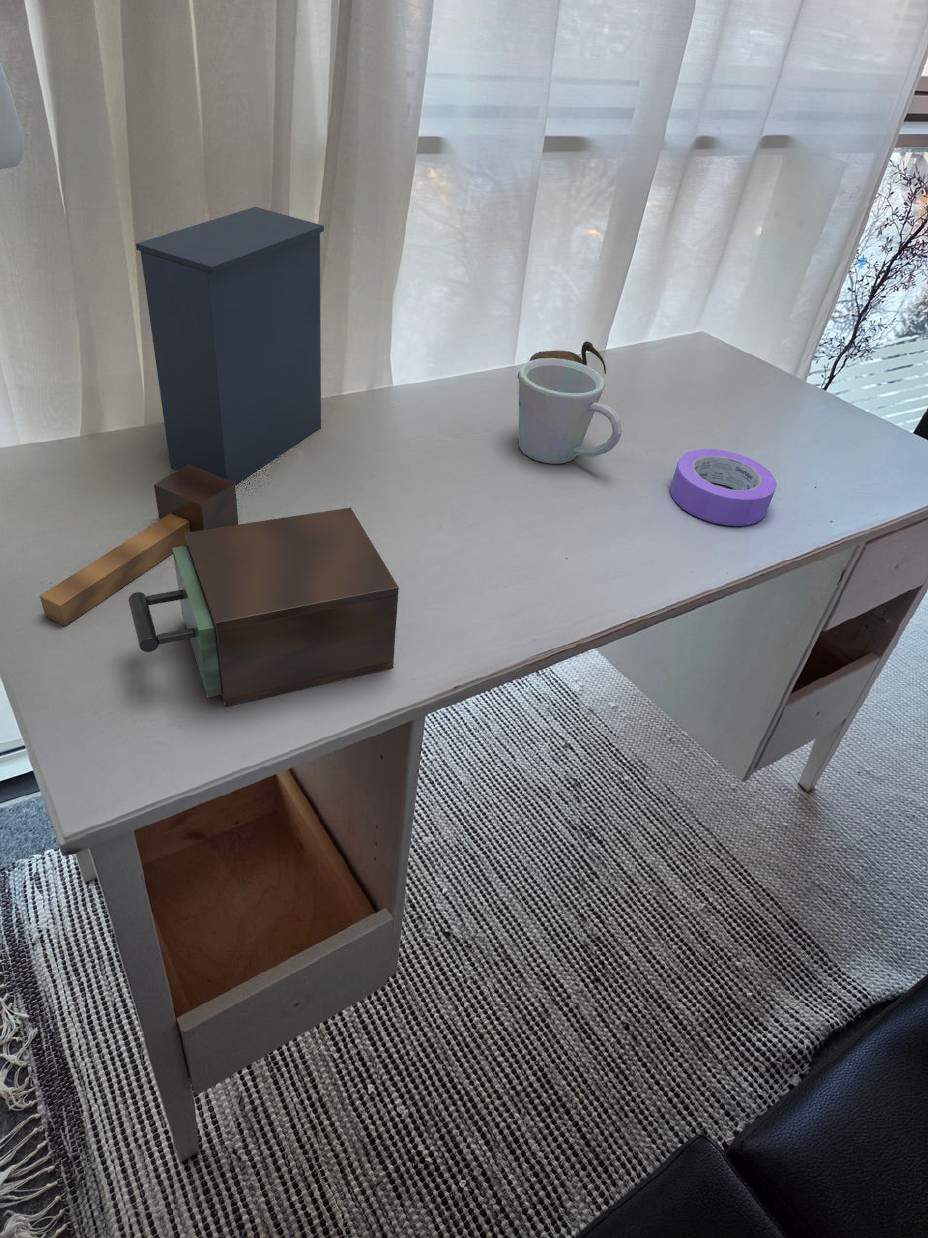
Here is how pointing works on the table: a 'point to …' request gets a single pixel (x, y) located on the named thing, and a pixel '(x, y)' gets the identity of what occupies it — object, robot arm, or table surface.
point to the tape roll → (718, 502)
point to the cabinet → (295, 602)
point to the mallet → (148, 541)
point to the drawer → (194, 618)
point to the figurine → (570, 355)
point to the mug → (560, 410)
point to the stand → (236, 338)
